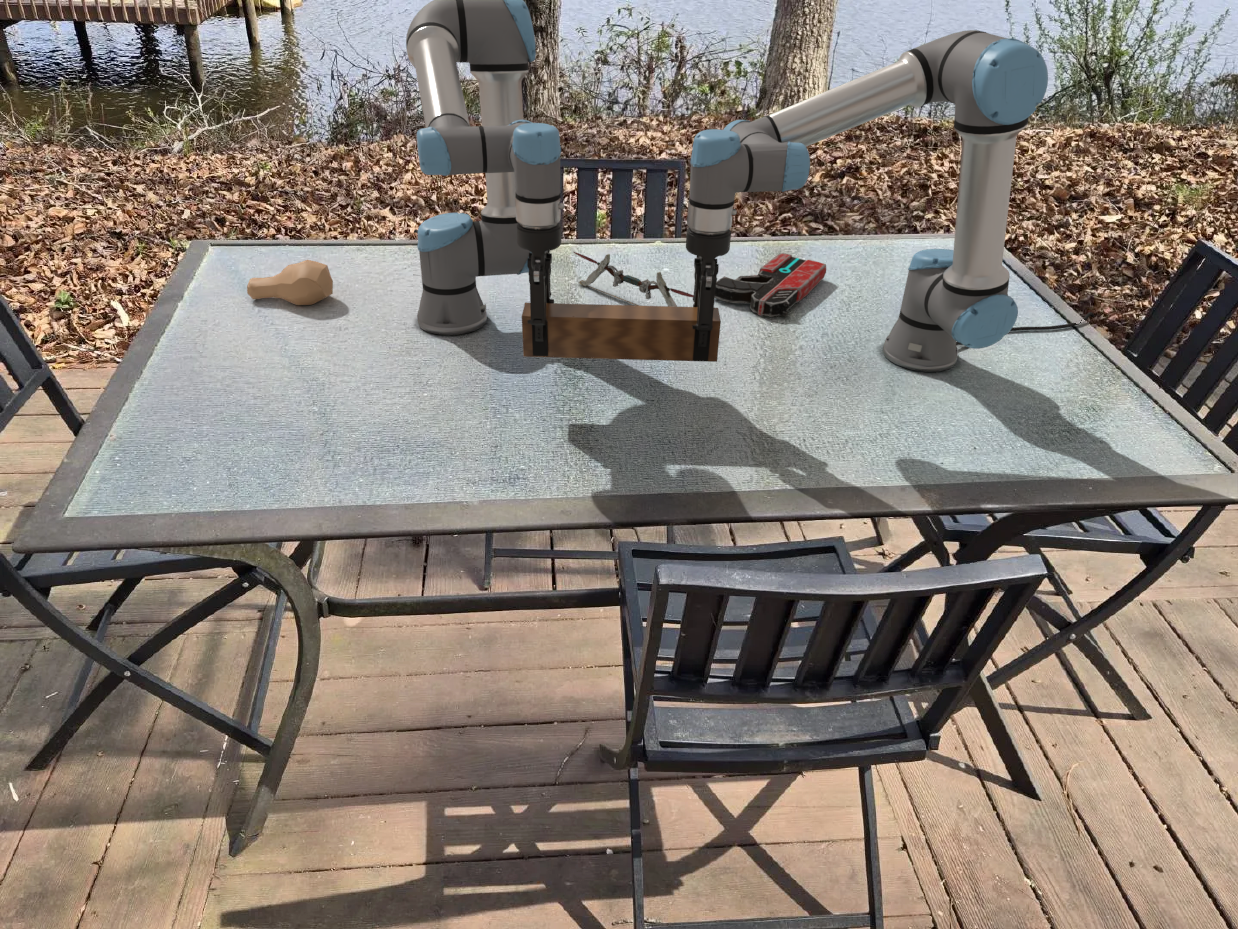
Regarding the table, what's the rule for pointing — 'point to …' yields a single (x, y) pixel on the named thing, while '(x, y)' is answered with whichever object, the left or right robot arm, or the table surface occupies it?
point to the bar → (620, 332)
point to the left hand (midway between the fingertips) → (542, 346)
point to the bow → (631, 281)
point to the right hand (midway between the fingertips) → (699, 351)
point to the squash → (295, 284)
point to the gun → (773, 285)
